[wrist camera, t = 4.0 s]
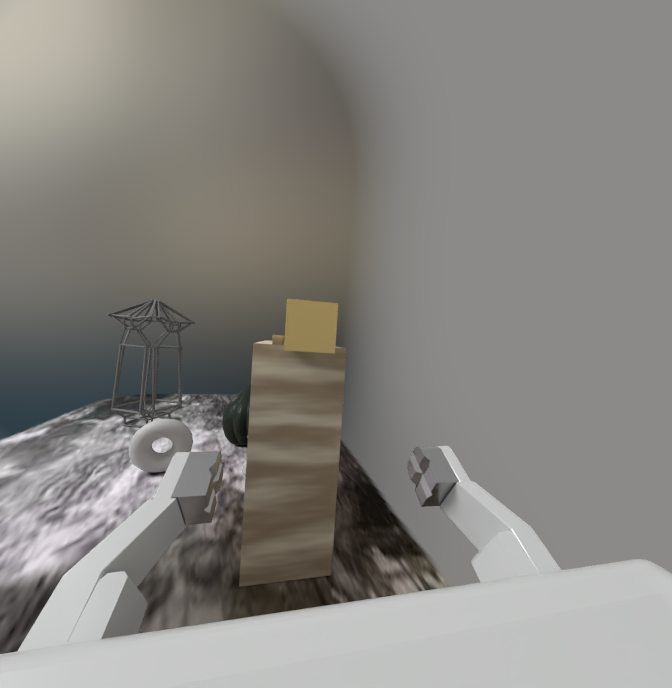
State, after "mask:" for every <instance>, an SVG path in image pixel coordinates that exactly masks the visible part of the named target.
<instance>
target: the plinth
mask: <svg viewBox="0 0 672 688" xmlns="http://www.w3.org/2000/svg"><path fill="white" fill-rule="evenodd" d="M284 344H285V342H284V336H280V335H273V340H272V341H262V342H257V343H254V344H253V345H254V346H253V361H252V377H251V379H252V380H251V394H250V411H249V428H248V445H247V462H246V479H245V496H244V512H243V529H242V546H241V563H240V580H239V587H242V586H250V585H258V584H266V583H274V582H282V581H290V580H298V579H306V578H314V577H322V576H330V575H331V573H332V558H333V543H334V528H335V513H336V498H337V483H338V468H339V453H340V438H341V422H342V407H343V392H344V376H345V362H346V349H345V348H341V347H336V346H335V353H319V352H301V351H284Z"/></svg>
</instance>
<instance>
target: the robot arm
mask: <svg viewBox="0 0 672 688" xmlns="http://www.w3.org/2000/svg"><path fill="white" fill-rule="evenodd" d="M413 453H414V455H413V456H412V457H410V459H409V461H408V472H409V476H410V479H411V480H412V481H413V482H414V483H415V484H416V489H415V491H416V494H417V496H418V499H419V501H420V504H421V506H422V507H423V506H440V508H441V509H442V510H443V511H444V512H445V514H447V516H448V517H449V518H450V519H451V520H452V521H453V522H454V524H455V525H456V526H457V527H458V528H459V529H460V530H461V531H462V532H463V534H464V535H465V536H466V537H467V538H468V539H469V540H470V541H471V542H472V544H473V545H474V546H475V547H476V548H477V549H478V550H479V552H478V553H477V554H476V555H475V556H474V557H473V558H472V561H471V562H472V565H473V567H474V569H475V571H476V573H477V576H478V578H479V580H480V583H473V584H467V585H460V586H453V587H447V588H440V589H433V590H426V591H420V592H413V593H406V594H400V595H393V596H386V597H380V598H373V599H366V600H360V601H353V602H346V603H340V604H333V605H326V606H319V607H313V608H306V609H299V610H293V611H286V612H279V613H273V614H266V615H259V616H253V617H246V618H239V619H233V620H226V621H219V622H212V623H206V624H199V625H192V626H186V627H179V628H172V629H166V630H159V631H152V632H146V633H139V634H138V632H139V629H140V626H141V623H142V620H143V617H144V614H145V611H146V608H147V605H148V603H147V601H146V599H145V598H144V596H143V595H142V594H141V592H140V591H139V590H138V588H137V586H138V585H139V584H140V583H141V581H142V580H143V579H144V578H145V576H146V575H147V574H148V573H149V571H150V570H151V569H152V568H153V567H154V565H155V564H156V563H157V562H158V560H159V559H160V558H161V557H162V555H163V554H164V553H165V552H166V550H167V549H168V548H169V547H170V545H171V544H172V543H173V542H174V540H175V539H176V538H177V537H178V536H179V534H180V533H181V532H182V531H183V529H184V528H185V525H191V524H201V523H211V522H212V518H213V514H214V511H215V507H216V503H217V502H216V496H215V494H216V493H217V492H218V491H219V490H220V487H221V483H222V476H223V464H222V463H220V461H221V458H222V456H221V452H176V454H175V455H174V456H173V457H172V460H171V462H170V464H169V466H168V468H167V470H166V473H165V475H164V477H163V479H162V481H161V483H160V486H159V488H158V490H157V492H156V494H155V496H154V499H150V500H147V501H146V502H145V503H144V504H143V505H142V506H141V507H140V508H138V509H137V510H136V511H135V512H134V513H133V514H132V515H131V516H129V517H128V518H127V519H126V520H125V521H124V522H123V523H122V524H120V525H119V526H118V527H117V528H116V529H115V530H114V531H113V532H112V533H110V534H109V535H108V536H107V537H106V538H105V539H104V540H103V541H101V542H100V543H99V544H98V545H97V546H96V547H95V548H94V549H92V550H91V551H90V552H89V553H88V554H87V555H86V556H85V557H84V558H82V559H81V560H80V561H79V562H78V563H77V564H76V565H75V566H73V567H72V568H71V569H70V570H69V571H68V572H67V573H66V574H64V575H63V577H62V578H61V580H60V582H59V583H58V585H57V587H56V588H55V590H54V592H53V593H52V595H51V597H50V598H49V600H48V602H47V603H46V605H45V606H44V608H43V610H42V611H41V613H40V615H39V616H38V618H37V620H36V621H35V623H34V625H33V626H32V628H31V630H30V631H29V633H28V635H27V636H26V638H25V639H24V641H23V643H22V644H21V646H20V648H19V649H18V651H17V652H12V653H5V654H0V688H672V574H671V573H670V572H668V571H667V570H665V569H663V568H661V567H660V566H658V565H656V564H654V563H652V562H650V561H647V560H644V559H633V560H627V561H620V562H614V563H607V564H601V565H594V566H587V567H581V568H574V569H567V570H561V569H560V568H559V566H558V565H557V563H556V562H555V561H554V559H553V558H552V556H551V555H550V553H549V552H548V550H547V549H546V548H545V546H544V545H543V543H542V542H541V541H540V539H539V537H538V536H537V535H536V533H535V532H534V530H533V529H532V528H531V527H530V526H529V525H528V524H526V523H525V522H524V521H523V520H521V519H520V518H519V517H518V516H517V515H515V514H514V513H513V512H511V511H510V510H509V509H508V508H507V507H505V506H504V505H503V504H502V503H500V502H498V500H497V499H495V498H494V497H493V496H491V495H490V494H489V493H488V492H487V491H485V490H484V489H483V488H482V487H480V486H479V485H478V484H476V483H475V482H474V481H470V479H469V478H468V476H467V474H466V472H465V471H464V469H463V467H462V466H461V464H460V463H459V461H458V459H457V458H456V456H455V454H454V453H453V451H452V450H451V448H450V447H448V446H423V447H416V448H415V449H414V451H413Z"/></svg>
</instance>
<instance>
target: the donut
mask: <svg viewBox="0 0 672 688" xmlns="http://www.w3.org/2000/svg"><path fill="white" fill-rule="evenodd" d="M161 437H166V438H169V439H170V440H171V441H172V443H173V446H172V448H171V449H170V450H169V451H167V452H165V453H157V452H155V451H154V450H153V448H152V443H153V441H154V440H155V439H158V438H161ZM192 444H193V439H192V433H191V432H190V430H189V428H188V427H187V426H186V425H185V424H183V423H182V422H180V421H177V420H175V419H159V420H154V421H152V422H150V423H148V424H146V425H144V426H143V427H141V428H140V429H139V430H138V431H137V432H136V433H135V435H134V436H133V438H132V439H131V441H130V445H129V456H130V459H131V461H132V462H133V464H134V465H135V466H137V467H138V468H140V469H141V470H143V471H147V472H163V471H166V470H167V468H168V466H169V464H170V462H171V460H172V457H173V456H174V455H175V454H176V452H190V451H191V448H192Z"/></svg>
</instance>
